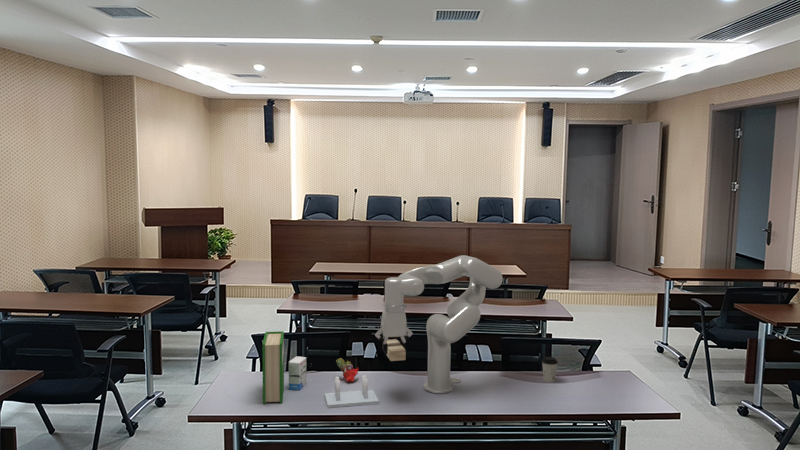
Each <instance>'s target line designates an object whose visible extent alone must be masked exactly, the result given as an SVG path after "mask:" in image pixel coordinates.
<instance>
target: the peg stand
mask: <svg viewBox="0 0 800 450" xmlns="http://www.w3.org/2000/svg"><path fill="white" fill-rule="evenodd" d="M361 379H362V380H361V383H362V384H361V386H362V387H361V390H351V391H341V380H340V377H339V376H335V377H334V392H326V393H325V392H324V398H325V403H326V406H327V409H331V408H333V409H334V408H343V407H344V408H345V407H347V408H348V407H356V406H357V407H358V406H369V405H379V404H380V400H379V398H378V396H377V395H376V392H375V391H374V389H369V378H368V377H367V375H366V374H362V378H361Z"/></svg>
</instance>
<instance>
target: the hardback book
mask: <svg viewBox="0 0 800 450" xmlns="http://www.w3.org/2000/svg"><path fill="white" fill-rule="evenodd" d="M284 334H285V333H284V331H281V330H280V331H278V330H277V331H265V332H264V337H263V340H262V348H261V351H262V405H266V404H267V403H274V402H275V403H277V402H279V404H281V405H282V404H283V399H284V390H285V389H284V388H285V352H284V351H285V344H284V343H285V341H284V339H285V335H284Z"/></svg>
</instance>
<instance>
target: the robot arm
mask: <svg viewBox="0 0 800 450" xmlns="http://www.w3.org/2000/svg"><path fill="white" fill-rule="evenodd" d="M462 277H467V278H468V277H469V285H468V287H467V289H466V290H465V291H464V292H463V293H461V294H460V295H459V296H458V297H457V298H456V299H454V300H453V301H452V302H451V303H450V304H449V305H448V306H447V307H446V308H447V309H446V314H447V315H444V314H441V313H435V314H432V315H431V316H429V318H428V319H427V320H426V326H425V327H426V334H427V379H426V382H425V383H423V389H424V390H425V391H427V392H429V393H432V394H447V393H451V392H452V391H453V390H454V385H456V384H462V380H461V378H457V377H451V354H452V352H451V351H452V350H451V344H454V343H455V342H457V341H459V340H460V339H462V338H463V337H464V336H465V335H467V333H469V332H470V331H471V330H472V329H473V328H474V327H476V325H477V324H479V321H480V319H481V310H480V308H479V307H480V305H481V304H482V303H483V302H484V300H485V297H486V289H491V290H493V289H498V288H499V287H500V286H501V285H502V283H503V275H502V272H501V271H500V270H499V269H498V268H495V267H494V266H492V265H490V264H489V263H487V262H484V261H483V260H481V259H479V258H477V257H473V256H469V255H466V254H465V255H463V254H462V255H457V256H455V257H453V258H451V259H447V260H445V261H441V262H440V263H437V264H432V265H427V266H422V267H417V268H413V269H410V270H408V271H405V272H403V273H400V275H398V276H397V277H392V276H391V277H387V278H386V279H385V280H384V311H382V314H381V320H380V328H379V329H378V330H377V331H376V333H375V334H374V336H375V337H376V338H377V340H379V341H380V342H381V343H382V352H384V354H385V355H386V354H387V346H388V345H387V340H389V338H400V341H399V342H400V344H401V345H402V346H403V347H404V349H405V350H406V348H405V346H406V342H407V341H408V340H409V338H410V337H412V336H413V333H414V332H412V330H411V329H409V328H408V323H407V316H406V311H405V309H408V306H407V304H404V297H405V296H407V297H409V296H411V297H415V296H419V295H421V294H422V293H423V292H424V290H425V285H441V284H442V285H443V284H446V283H450V282H451V281H454V280H456V279H460V278H462ZM382 336H383V337H382Z"/></svg>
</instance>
